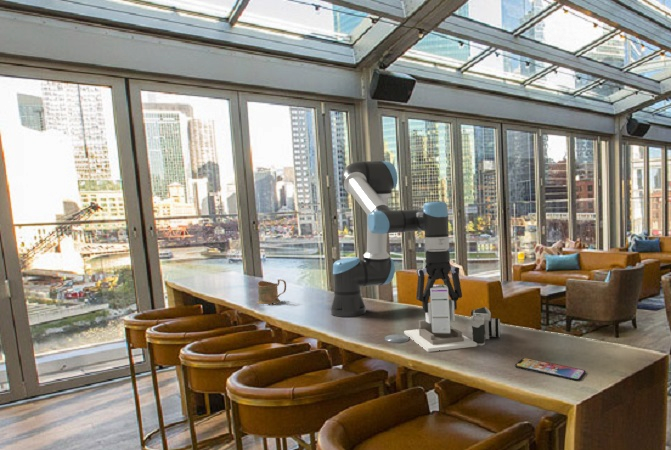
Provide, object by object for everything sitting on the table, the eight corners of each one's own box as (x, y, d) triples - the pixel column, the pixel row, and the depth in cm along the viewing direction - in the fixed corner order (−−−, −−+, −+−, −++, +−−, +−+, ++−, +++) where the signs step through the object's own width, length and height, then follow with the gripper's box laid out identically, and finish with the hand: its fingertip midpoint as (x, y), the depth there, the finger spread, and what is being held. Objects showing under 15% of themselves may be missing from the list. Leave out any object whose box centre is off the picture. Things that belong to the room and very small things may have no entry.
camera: (500, 347, 122) (498, 314, 122) (469, 345, 125) (468, 313, 125) (500, 332, 137) (499, 303, 137) (473, 331, 140) (472, 302, 140)
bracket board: (404, 333, 141) (403, 316, 140) (447, 329, 144) (446, 312, 143) (428, 351, 121) (427, 331, 121) (477, 346, 124) (476, 326, 124)
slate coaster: (381, 338, 138) (381, 335, 138) (403, 335, 139) (403, 333, 139) (389, 345, 130) (389, 342, 130) (412, 342, 132) (412, 340, 132)
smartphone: (579, 380, 96) (513, 365, 106) (579, 383, 96) (514, 368, 106) (586, 370, 101) (523, 357, 111) (586, 374, 101) (523, 360, 111)
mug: (278, 306, 194) (277, 281, 193) (252, 303, 203) (250, 280, 203) (293, 301, 203) (292, 278, 203) (267, 299, 213) (266, 276, 213)
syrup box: (450, 333, 127) (449, 287, 126) (431, 333, 128) (430, 287, 128) (449, 328, 132) (448, 284, 132) (430, 328, 133) (429, 284, 133)
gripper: (411, 253, 124) (415, 327, 124) (472, 248, 128) (475, 321, 128) (403, 251, 131) (406, 321, 132) (460, 247, 135) (463, 315, 136)
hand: (440, 321), depth 130 cm, fingers closed on syrup box, 7 cm apart
